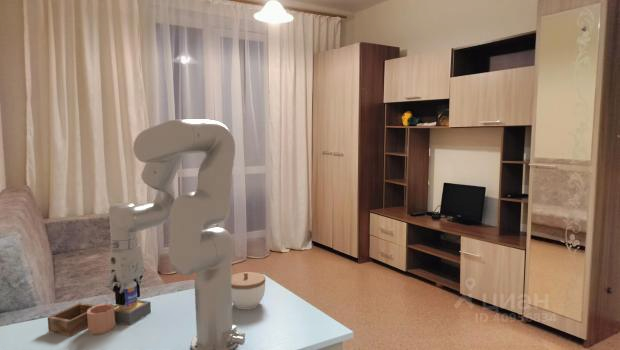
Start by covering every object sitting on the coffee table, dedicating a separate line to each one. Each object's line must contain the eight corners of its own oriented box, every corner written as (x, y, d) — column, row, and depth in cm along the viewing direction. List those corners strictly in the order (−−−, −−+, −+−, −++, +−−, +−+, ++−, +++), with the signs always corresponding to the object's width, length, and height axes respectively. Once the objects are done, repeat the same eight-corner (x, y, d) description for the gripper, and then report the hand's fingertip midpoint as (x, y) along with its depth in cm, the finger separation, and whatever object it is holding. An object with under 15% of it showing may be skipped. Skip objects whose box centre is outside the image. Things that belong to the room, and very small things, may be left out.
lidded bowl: (232, 297, 143) (231, 266, 142) (268, 297, 143) (267, 266, 142) (223, 313, 131) (221, 279, 130) (262, 313, 130) (262, 279, 129)
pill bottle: (130, 310, 126) (128, 279, 125) (114, 309, 127) (112, 278, 126) (141, 303, 131) (139, 273, 130) (126, 301, 132) (124, 272, 131)
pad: (144, 306, 131) (144, 303, 131) (129, 314, 125) (129, 311, 125) (128, 303, 133) (128, 300, 133) (112, 312, 127) (112, 308, 127)
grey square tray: (150, 312, 132) (150, 301, 132) (129, 324, 124) (129, 313, 123) (128, 308, 135) (127, 298, 135) (106, 320, 127) (105, 309, 126)
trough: (102, 319, 127) (101, 306, 127) (70, 336, 117) (69, 321, 117) (81, 315, 130) (80, 302, 130) (48, 331, 120) (47, 317, 120)
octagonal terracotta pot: (120, 325, 124) (119, 305, 123) (101, 336, 117) (100, 315, 116) (102, 321, 126) (101, 302, 125) (83, 332, 119) (81, 312, 119)
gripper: (112, 252, 118) (116, 313, 120) (154, 237, 134) (156, 291, 136) (92, 250, 120) (96, 310, 122) (135, 235, 136) (138, 289, 138)
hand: (128, 299), depth 129 cm, fingers closed on pill bottle, 5 cm apart
